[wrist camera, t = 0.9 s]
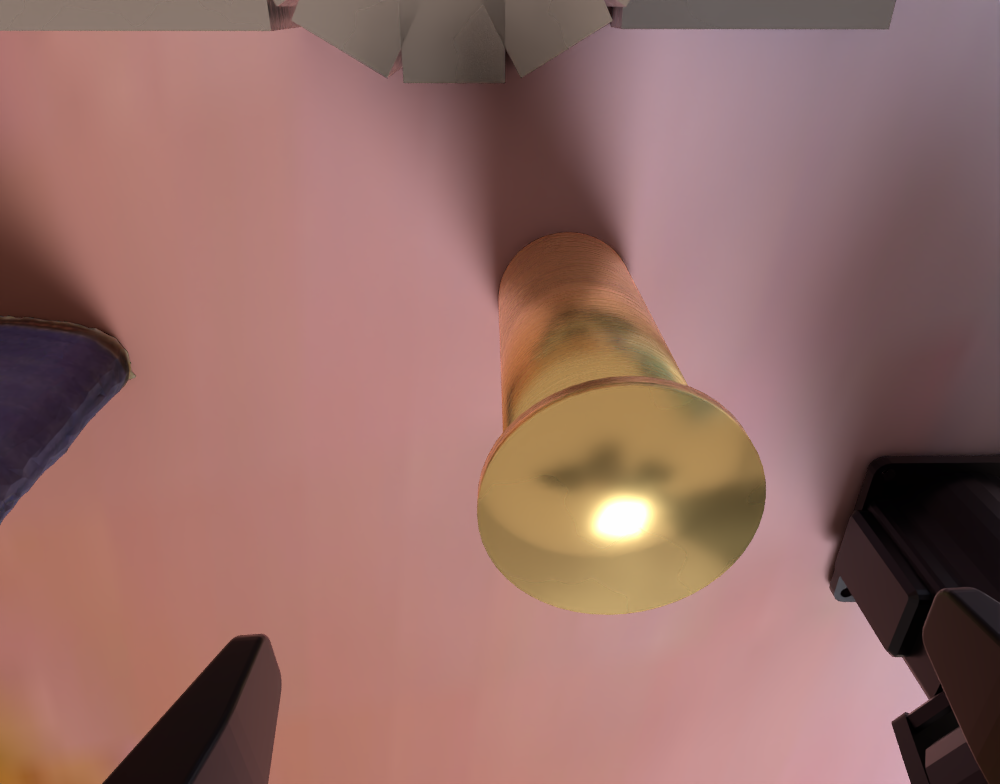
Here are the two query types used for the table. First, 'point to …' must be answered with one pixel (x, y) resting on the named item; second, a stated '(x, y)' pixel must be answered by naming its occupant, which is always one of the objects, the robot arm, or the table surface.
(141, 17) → the flanged post bracket
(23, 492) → the flask
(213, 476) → the table surface
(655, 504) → the brass pin
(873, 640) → the table surface
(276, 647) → the table surface
